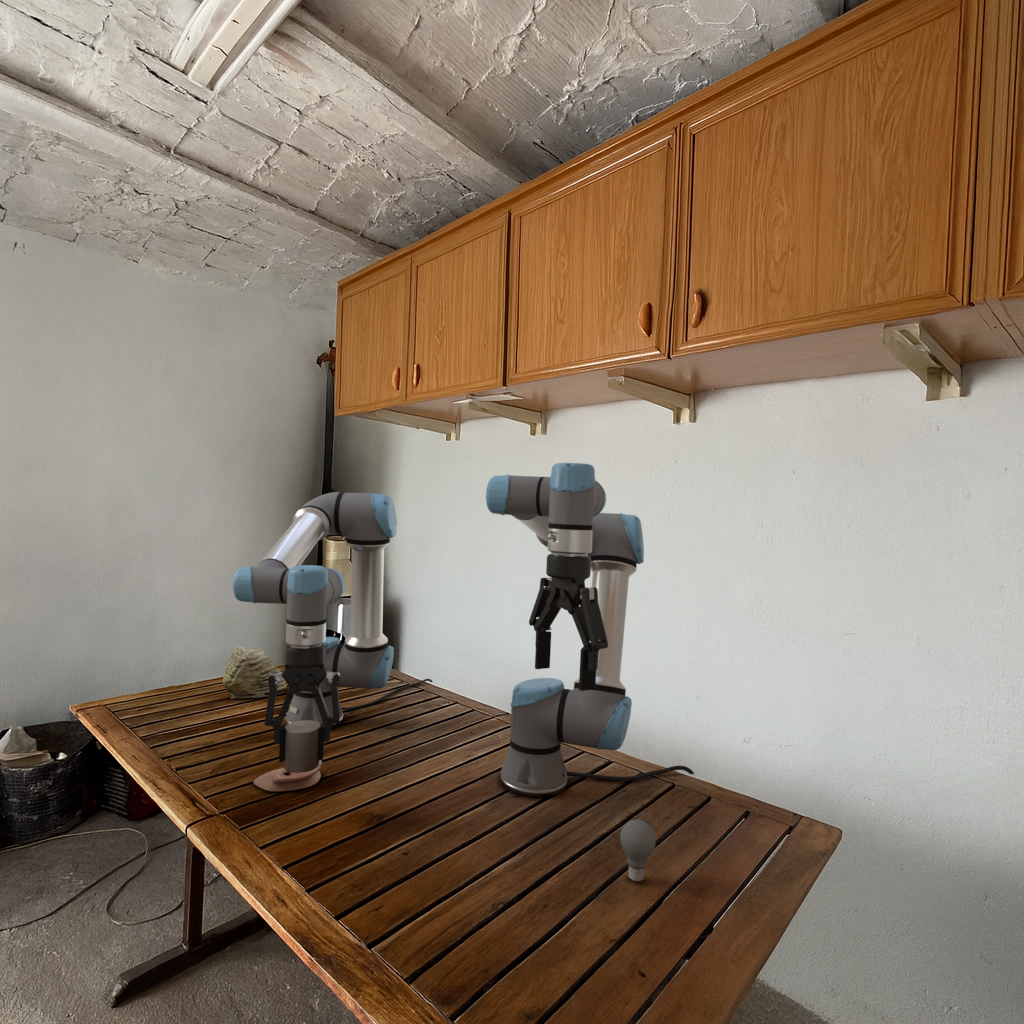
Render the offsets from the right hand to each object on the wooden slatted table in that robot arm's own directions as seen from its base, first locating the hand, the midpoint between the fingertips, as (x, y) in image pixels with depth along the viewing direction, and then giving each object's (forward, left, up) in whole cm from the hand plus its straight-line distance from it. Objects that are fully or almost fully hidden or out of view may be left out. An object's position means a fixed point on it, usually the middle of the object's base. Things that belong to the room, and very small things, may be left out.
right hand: (563, 678), depth 108 cm
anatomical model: (+34, -55, -34) cm, 74 cm away
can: (+35, -40, -25) cm, 58 cm away
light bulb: (-12, +7, -34) cm, 37 cm away
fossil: (+33, -121, -34) cm, 130 cm away
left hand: (+35, -40, -23) cm, 58 cm away
